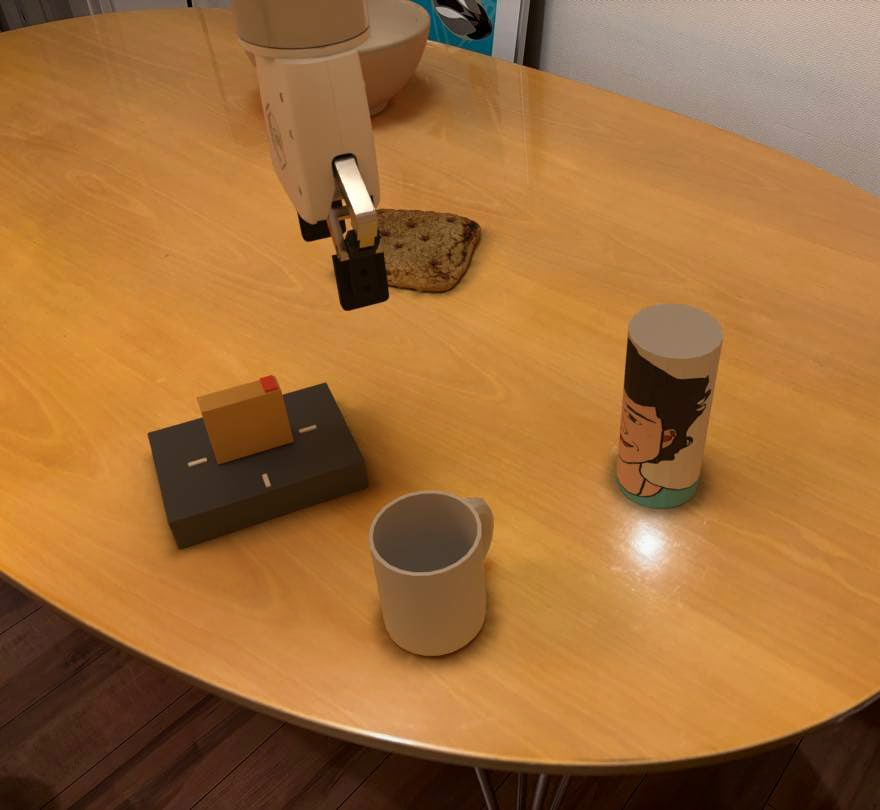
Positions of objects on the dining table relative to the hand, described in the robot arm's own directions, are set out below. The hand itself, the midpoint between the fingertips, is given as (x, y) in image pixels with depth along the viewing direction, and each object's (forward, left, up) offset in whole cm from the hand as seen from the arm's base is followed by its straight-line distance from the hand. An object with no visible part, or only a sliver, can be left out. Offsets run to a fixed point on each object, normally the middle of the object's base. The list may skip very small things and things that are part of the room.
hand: (344, 268), depth 62 cm
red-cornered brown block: (-9, +3, -16) cm, 19 cm away
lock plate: (-9, +3, -19) cm, 21 cm away
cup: (0, -16, -19) cm, 25 cm away
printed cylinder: (+20, -12, -19) cm, 30 cm away
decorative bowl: (+20, +75, -19) cm, 80 cm away
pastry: (+14, +30, -19) cm, 38 cm away
